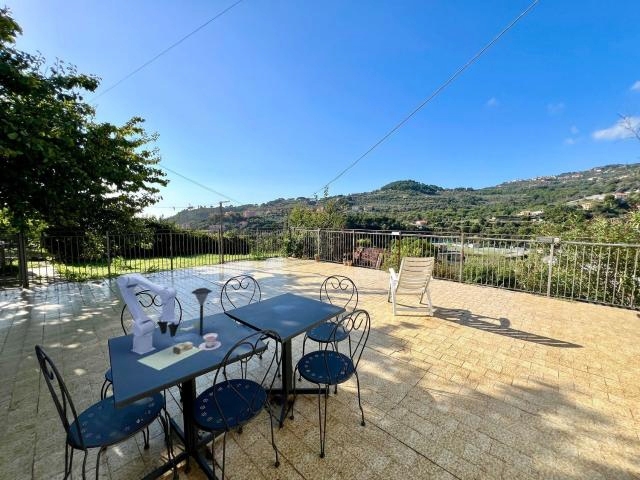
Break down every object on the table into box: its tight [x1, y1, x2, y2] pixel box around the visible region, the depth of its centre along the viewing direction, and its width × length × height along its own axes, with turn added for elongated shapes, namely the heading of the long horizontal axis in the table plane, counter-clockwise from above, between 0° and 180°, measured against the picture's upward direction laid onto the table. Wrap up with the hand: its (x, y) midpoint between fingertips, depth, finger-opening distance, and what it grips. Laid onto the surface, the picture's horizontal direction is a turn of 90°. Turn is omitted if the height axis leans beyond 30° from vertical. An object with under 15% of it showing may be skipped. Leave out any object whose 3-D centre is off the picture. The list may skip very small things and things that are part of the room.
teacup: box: [198, 332, 222, 351], centre depth 155 cm, size 12×12×6 cm
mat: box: [137, 342, 203, 371], centre depth 142 cm, size 18×25×1 cm
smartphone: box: [178, 322, 200, 332], centre depth 182 cm, size 7×1×15 cm
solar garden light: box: [191, 287, 213, 337], centre depth 169 cm, size 12×12×30 cm
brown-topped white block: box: [173, 341, 194, 355], centre depth 147 cm, size 9×4×3 cm, turn 154°
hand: (168, 334), depth 144 cm, fingers open, 7 cm apart
